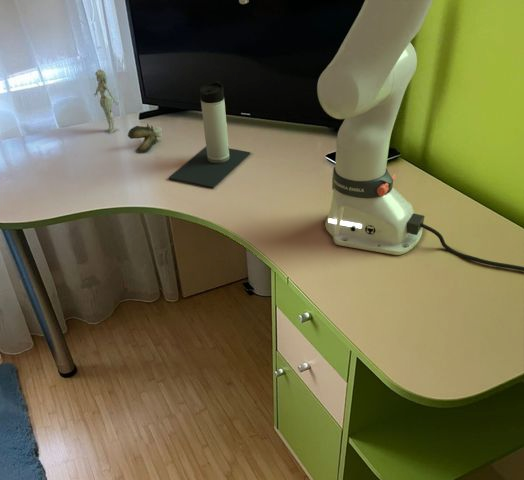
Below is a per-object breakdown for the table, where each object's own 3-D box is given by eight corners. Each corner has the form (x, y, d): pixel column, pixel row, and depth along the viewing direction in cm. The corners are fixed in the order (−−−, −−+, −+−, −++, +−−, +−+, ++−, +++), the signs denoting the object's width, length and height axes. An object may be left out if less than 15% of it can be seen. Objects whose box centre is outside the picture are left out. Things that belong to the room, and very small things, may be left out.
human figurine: (97, 127, 180) (82, 68, 167) (106, 123, 182) (92, 64, 169) (119, 137, 174) (105, 76, 161) (129, 133, 176) (116, 72, 163)
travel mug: (234, 156, 159) (228, 83, 145) (221, 165, 155) (213, 91, 142) (216, 151, 162) (209, 79, 148) (203, 161, 158) (194, 87, 144)
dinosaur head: (142, 134, 172) (123, 140, 165) (151, 115, 167) (131, 121, 160) (160, 151, 172) (141, 158, 165) (169, 133, 167) (150, 139, 160)
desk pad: (250, 154, 161) (250, 152, 161) (212, 188, 148) (212, 186, 147) (208, 146, 166) (208, 144, 166) (168, 179, 152) (168, 177, 152)
